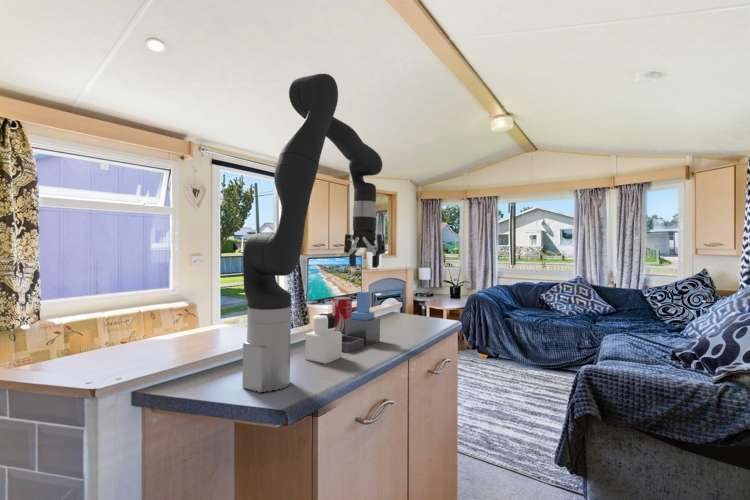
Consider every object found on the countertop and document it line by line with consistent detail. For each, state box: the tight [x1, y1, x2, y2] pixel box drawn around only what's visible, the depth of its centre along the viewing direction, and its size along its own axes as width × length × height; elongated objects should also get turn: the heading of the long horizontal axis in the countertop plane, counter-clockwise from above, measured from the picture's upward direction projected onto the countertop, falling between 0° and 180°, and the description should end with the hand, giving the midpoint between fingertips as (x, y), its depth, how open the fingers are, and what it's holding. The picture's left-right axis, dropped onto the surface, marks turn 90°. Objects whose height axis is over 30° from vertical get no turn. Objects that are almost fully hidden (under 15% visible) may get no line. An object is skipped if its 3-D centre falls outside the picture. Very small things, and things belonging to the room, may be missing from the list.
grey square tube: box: [344, 316, 381, 347], centre depth 124 cm, size 8×8×8 cm
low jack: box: [341, 334, 365, 354], centre depth 116 cm, size 8×8×2 cm
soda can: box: [331, 296, 353, 333], centre depth 139 cm, size 7×7×12 cm
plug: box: [352, 290, 375, 321], centre depth 124 cm, size 5×5×10 cm
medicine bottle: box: [304, 313, 343, 365], centre depth 105 cm, size 7×7×12 cm
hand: (363, 266), depth 124 cm, fingers open, 8 cm apart
